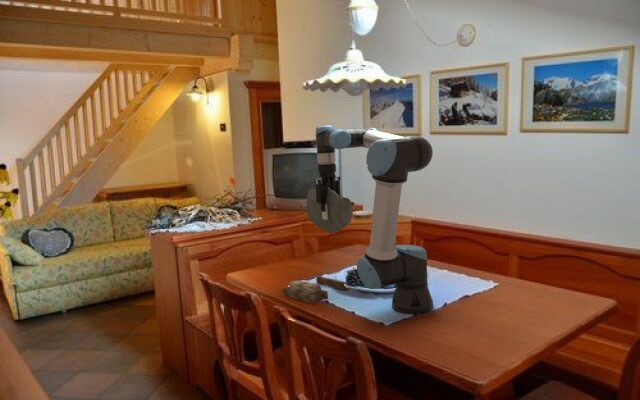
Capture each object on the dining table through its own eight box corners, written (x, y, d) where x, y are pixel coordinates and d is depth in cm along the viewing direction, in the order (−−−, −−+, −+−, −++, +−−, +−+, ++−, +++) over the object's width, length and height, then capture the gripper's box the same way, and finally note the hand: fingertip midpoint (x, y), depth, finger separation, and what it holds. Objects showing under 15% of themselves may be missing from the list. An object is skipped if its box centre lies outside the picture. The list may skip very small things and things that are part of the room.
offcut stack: (321, 298, 197) (320, 284, 196) (315, 301, 194) (314, 287, 193) (295, 293, 206) (294, 279, 205) (289, 296, 203) (288, 282, 202)
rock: (358, 235, 198) (355, 187, 195) (348, 238, 194) (344, 189, 191) (315, 229, 218) (312, 185, 215) (305, 231, 214) (301, 187, 211)
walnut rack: (349, 289, 206) (348, 282, 205) (313, 304, 191) (312, 296, 190) (319, 282, 218) (318, 276, 218) (283, 295, 203) (282, 288, 203)
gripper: (334, 161, 211) (338, 214, 214) (304, 165, 198) (308, 220, 201) (347, 161, 206) (350, 215, 209) (317, 165, 193) (321, 222, 196)
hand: (330, 217), depth 205 cm, fingers closed on rock, 5 cm apart
